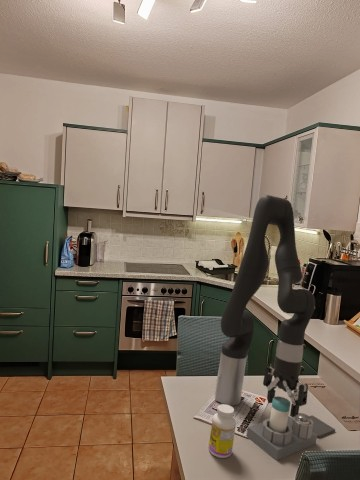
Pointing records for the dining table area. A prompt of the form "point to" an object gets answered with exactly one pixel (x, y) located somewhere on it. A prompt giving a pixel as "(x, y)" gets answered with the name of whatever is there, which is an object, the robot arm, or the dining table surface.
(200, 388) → the dining table surface
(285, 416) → the cartridge
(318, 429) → the mat
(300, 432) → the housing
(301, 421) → the plunger
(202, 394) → the dining table surface
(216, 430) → the supplement bottle
